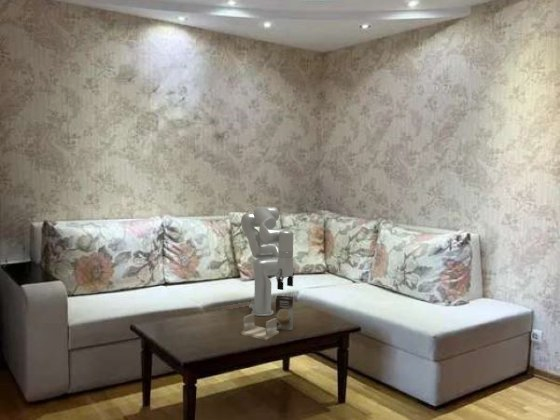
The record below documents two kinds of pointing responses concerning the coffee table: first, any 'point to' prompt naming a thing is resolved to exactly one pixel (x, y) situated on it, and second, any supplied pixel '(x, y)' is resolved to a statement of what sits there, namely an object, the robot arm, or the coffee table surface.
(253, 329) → the book rack
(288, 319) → the coffee box
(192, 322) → the coffee table surface
